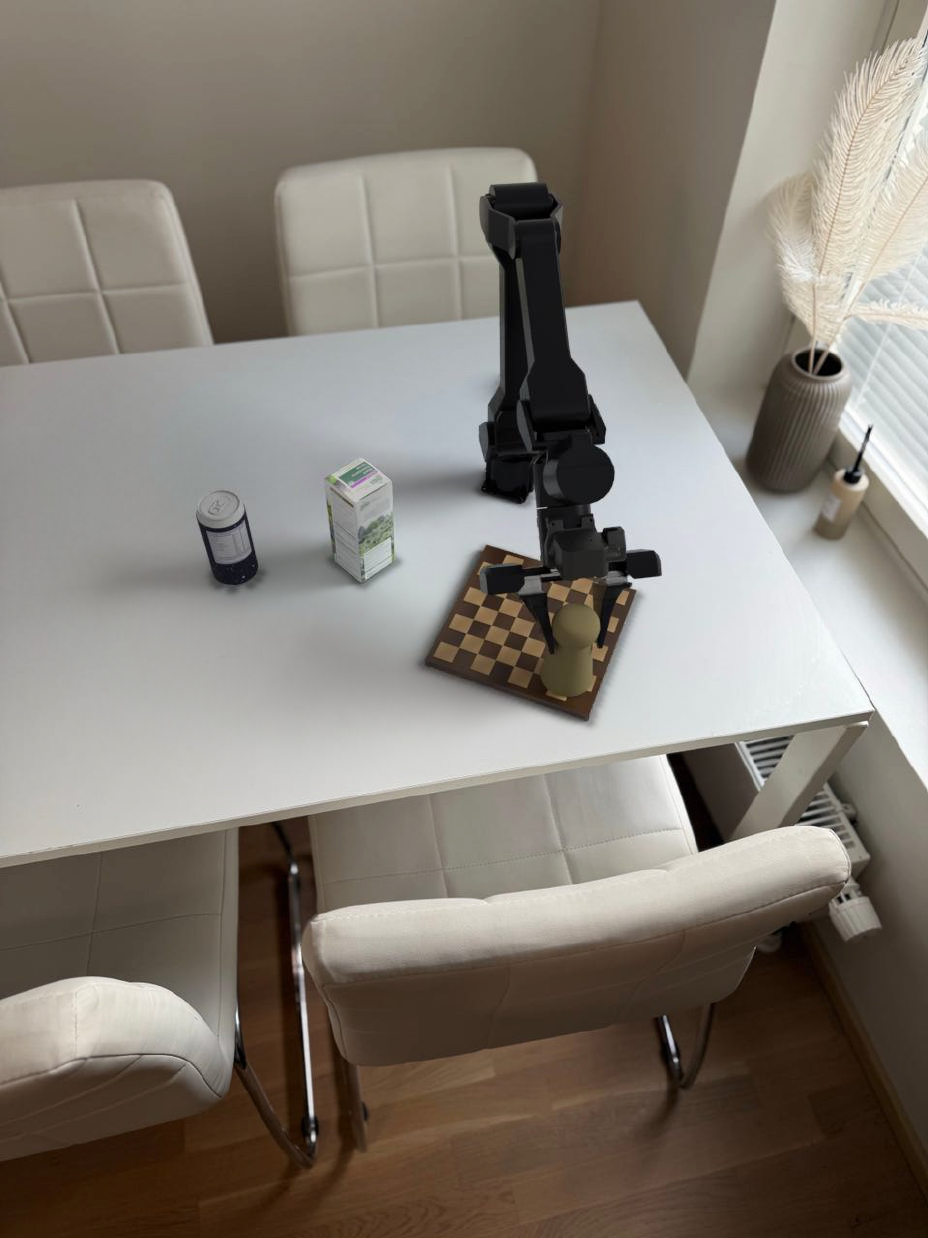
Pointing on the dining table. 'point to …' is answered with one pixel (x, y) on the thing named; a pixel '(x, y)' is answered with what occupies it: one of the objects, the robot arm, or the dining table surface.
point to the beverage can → (227, 537)
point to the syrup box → (360, 519)
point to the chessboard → (518, 637)
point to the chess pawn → (571, 650)
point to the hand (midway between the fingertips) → (575, 651)
